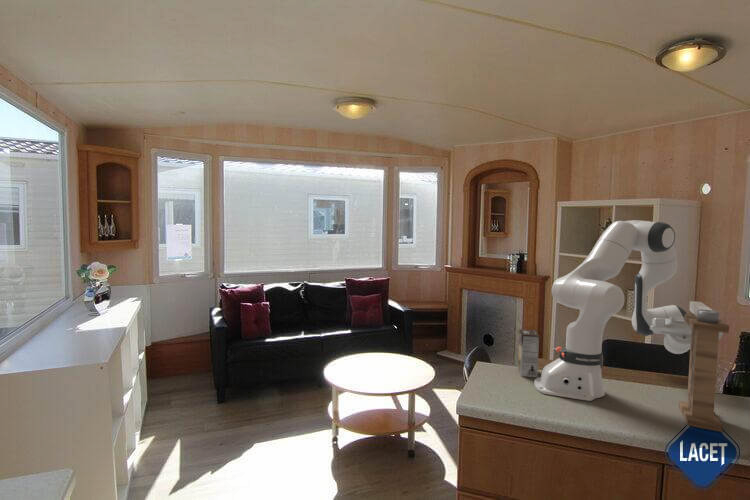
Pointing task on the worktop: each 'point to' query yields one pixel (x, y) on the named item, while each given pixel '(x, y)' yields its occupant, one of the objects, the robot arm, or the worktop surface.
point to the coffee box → (528, 353)
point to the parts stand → (702, 374)
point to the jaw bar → (704, 312)
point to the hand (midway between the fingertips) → (689, 321)
